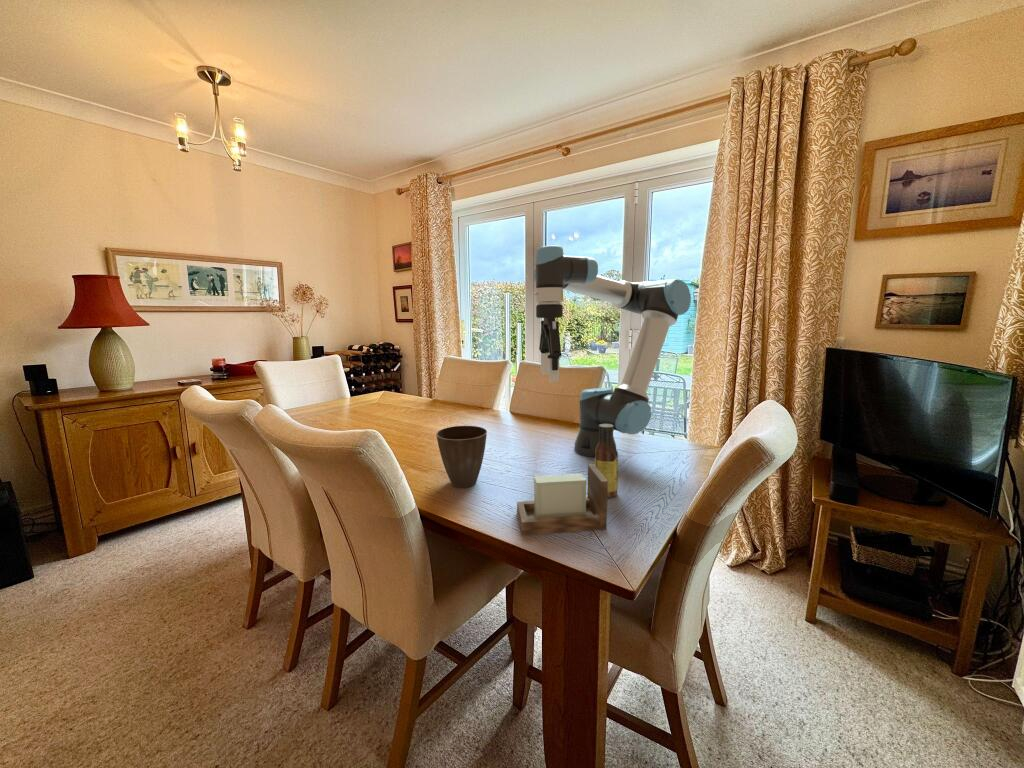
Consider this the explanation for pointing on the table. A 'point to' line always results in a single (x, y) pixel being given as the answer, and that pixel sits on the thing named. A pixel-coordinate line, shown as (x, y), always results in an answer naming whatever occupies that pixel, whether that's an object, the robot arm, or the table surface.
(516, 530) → the table surface
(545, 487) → the cream rectangular block
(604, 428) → the sauce bottle
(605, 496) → the wooden l-shaped stand
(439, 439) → the plant pot
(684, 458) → the table surface
